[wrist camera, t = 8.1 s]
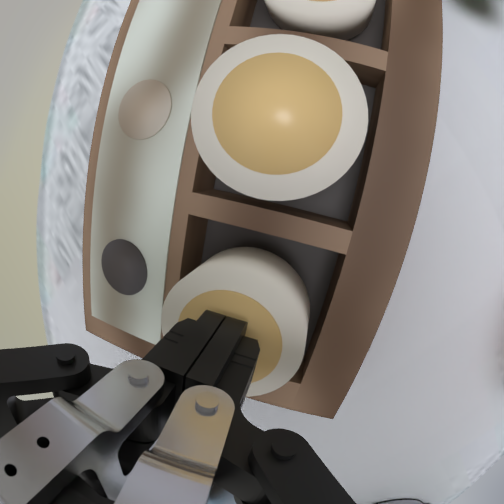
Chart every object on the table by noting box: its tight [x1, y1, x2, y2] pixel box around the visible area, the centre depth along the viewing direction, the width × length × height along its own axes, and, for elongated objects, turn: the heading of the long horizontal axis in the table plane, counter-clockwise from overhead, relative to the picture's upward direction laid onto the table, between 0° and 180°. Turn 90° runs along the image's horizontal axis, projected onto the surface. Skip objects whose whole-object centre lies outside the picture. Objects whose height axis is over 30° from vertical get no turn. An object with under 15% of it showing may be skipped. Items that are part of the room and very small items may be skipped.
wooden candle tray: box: [83, 0, 443, 419], centre depth 13 cm, size 16×27×3 cm, turn 168°
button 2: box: [161, 247, 310, 397], centre depth 12 cm, size 6×6×3 cm
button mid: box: [191, 34, 368, 201], centre depth 10 cm, size 6×6×3 cm
